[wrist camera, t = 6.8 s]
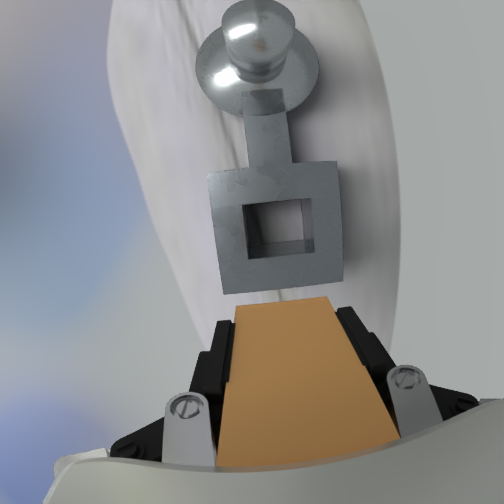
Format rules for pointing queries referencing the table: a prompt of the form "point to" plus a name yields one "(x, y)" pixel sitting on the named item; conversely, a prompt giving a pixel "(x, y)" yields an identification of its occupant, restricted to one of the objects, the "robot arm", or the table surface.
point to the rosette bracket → (268, 151)
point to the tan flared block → (297, 389)
